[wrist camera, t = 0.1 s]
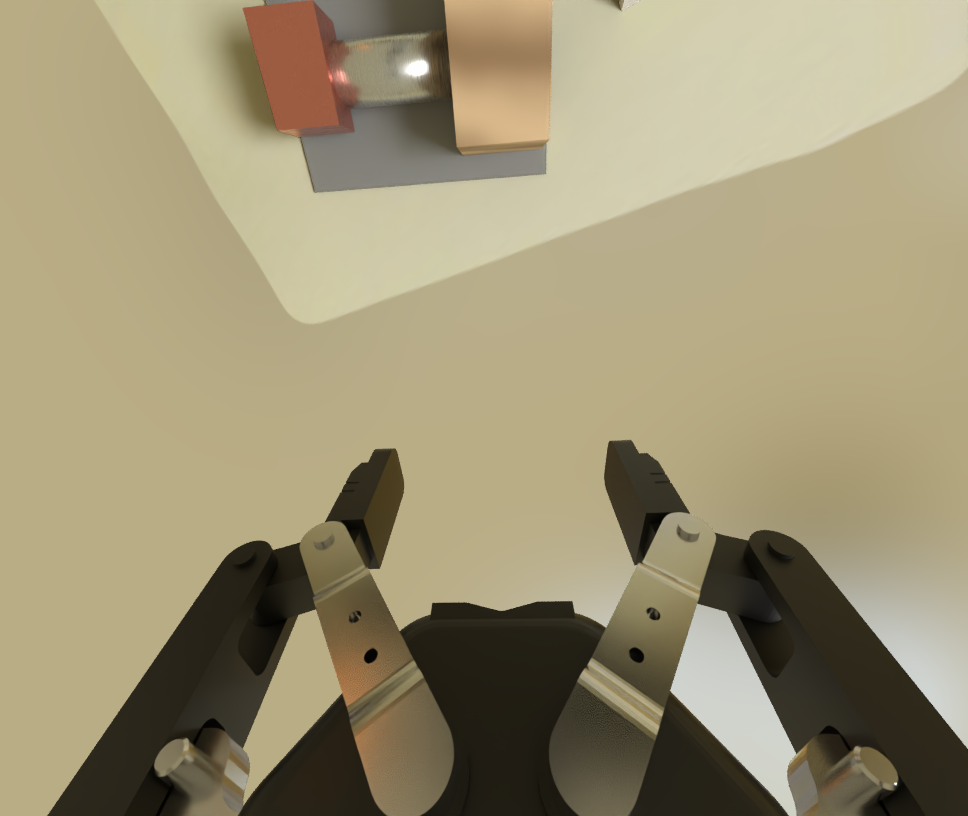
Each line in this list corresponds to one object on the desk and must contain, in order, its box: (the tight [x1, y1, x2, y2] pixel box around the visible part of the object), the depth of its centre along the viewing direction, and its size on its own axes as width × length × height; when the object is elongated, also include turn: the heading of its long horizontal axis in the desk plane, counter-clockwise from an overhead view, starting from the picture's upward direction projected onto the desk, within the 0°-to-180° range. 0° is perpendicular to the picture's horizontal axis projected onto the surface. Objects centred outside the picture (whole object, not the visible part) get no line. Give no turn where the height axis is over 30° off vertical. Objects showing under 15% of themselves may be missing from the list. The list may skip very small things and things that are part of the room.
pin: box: [243, 0, 453, 137], centre depth 28 cm, size 15×7×5 cm, turn 94°
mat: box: [266, 0, 546, 193], centre depth 30 cm, size 15×22×1 cm
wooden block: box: [444, 0, 552, 156], centre depth 27 cm, size 11×7×6 cm, turn 4°
